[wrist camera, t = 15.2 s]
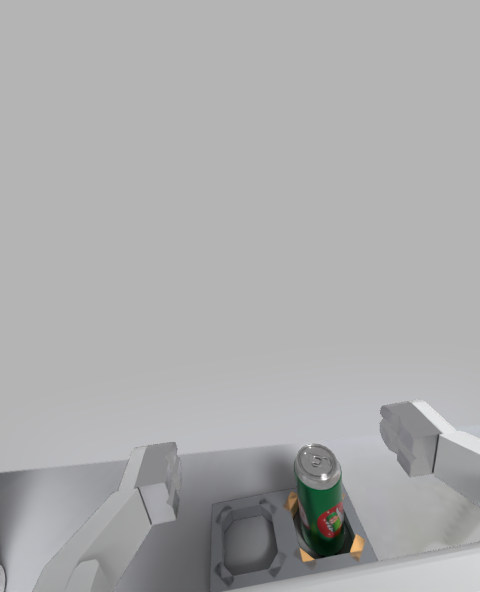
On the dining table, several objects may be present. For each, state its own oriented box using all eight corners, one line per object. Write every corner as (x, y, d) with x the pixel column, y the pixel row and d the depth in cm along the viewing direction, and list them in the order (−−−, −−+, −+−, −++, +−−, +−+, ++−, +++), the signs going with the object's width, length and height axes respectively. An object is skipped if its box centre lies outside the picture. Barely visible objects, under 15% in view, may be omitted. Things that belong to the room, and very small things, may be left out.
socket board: (213, 607, 27) (209, 596, 27) (214, 514, 36) (212, 504, 35) (378, 574, 28) (379, 562, 27) (341, 489, 36) (340, 479, 36)
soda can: (302, 507, 35) (293, 439, 31) (341, 513, 33) (338, 442, 30) (301, 554, 30) (291, 480, 27) (347, 563, 29) (344, 486, 25)
